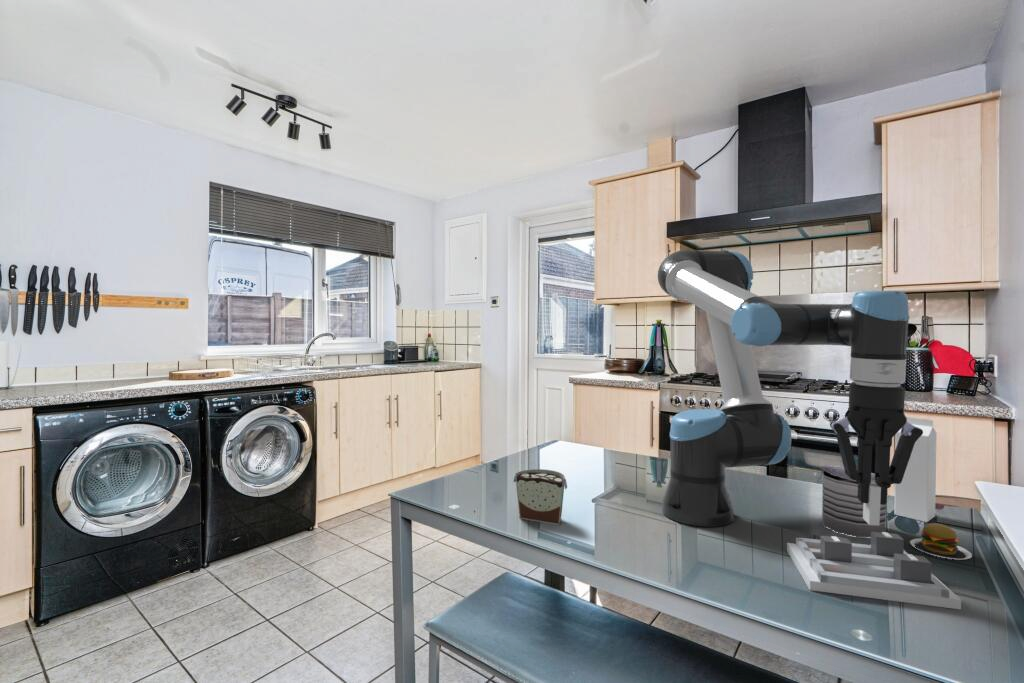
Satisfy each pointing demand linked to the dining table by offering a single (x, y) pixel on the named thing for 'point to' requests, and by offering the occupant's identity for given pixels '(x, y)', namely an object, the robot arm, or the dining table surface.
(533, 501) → the food container
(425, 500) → the dining table surface
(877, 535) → the breaker far
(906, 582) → the panel
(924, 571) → the breaker near
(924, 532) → the hamburger
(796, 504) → the dining table surface
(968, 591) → the dining table surface
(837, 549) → the breaker mid
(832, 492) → the can
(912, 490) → the milk
